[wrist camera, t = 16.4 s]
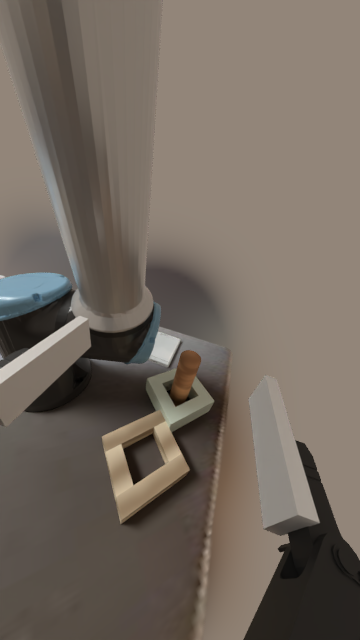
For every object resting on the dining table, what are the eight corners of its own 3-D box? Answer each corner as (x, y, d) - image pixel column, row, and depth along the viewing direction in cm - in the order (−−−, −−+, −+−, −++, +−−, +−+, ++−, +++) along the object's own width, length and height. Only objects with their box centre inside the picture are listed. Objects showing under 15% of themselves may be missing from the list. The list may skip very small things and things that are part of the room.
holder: (102, 443, 31) (102, 436, 30) (158, 416, 37) (159, 409, 36) (120, 524, 24) (121, 520, 23) (186, 475, 30) (189, 469, 29)
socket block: (145, 389, 42) (147, 378, 40) (183, 374, 48) (187, 364, 45) (167, 434, 35) (170, 424, 32) (209, 411, 40) (214, 401, 38)
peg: (165, 396, 41) (176, 353, 34) (179, 390, 43) (193, 348, 36) (173, 411, 39) (188, 368, 31) (188, 404, 41) (205, 362, 33)
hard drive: (158, 331, 59) (141, 354, 49) (181, 339, 58) (168, 365, 48) (157, 335, 60) (140, 358, 50) (180, 343, 59) (167, 369, 49)
